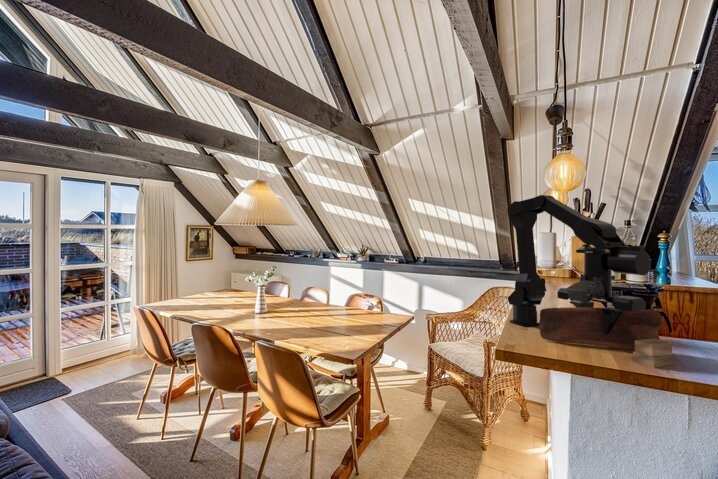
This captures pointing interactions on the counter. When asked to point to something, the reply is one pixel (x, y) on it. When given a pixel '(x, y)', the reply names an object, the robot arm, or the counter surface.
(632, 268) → the robot arm
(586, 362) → the counter surface
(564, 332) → the wooden tablet
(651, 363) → the offcut lower
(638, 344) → the offcut upper
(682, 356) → the counter surface
